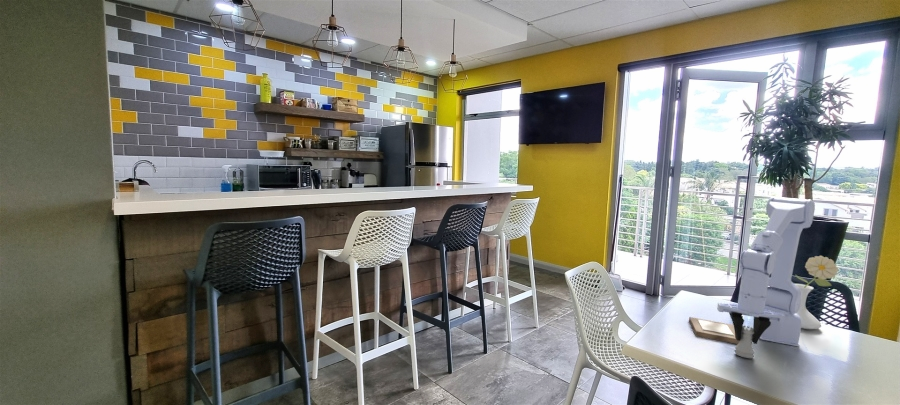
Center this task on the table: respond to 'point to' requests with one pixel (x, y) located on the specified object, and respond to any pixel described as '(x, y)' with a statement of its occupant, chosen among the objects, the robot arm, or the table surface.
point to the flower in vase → (819, 269)
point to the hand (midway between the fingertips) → (745, 340)
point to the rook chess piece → (745, 343)
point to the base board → (713, 330)
